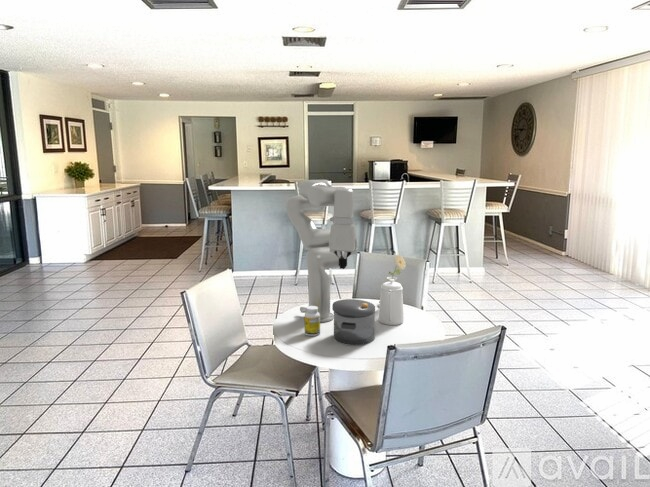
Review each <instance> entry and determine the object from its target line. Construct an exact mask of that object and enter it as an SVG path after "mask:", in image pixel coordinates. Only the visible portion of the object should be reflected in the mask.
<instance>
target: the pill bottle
mask: <svg viewBox="0 0 650 487" xmlns="http://www.w3.org/2000/svg"><path fill="white" fill-rule="evenodd" d="M305 308H306V311H307V312H306V313H304V334H305V336H307V337H317V336H319V335H320V334H321V322H320V314H319V312H318V307H317V306H309V305H308V306H306V307H305Z"/></svg>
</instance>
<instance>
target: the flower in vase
mask: <svg viewBox="0 0 650 487" xmlns="http://www.w3.org/2000/svg"><path fill="white" fill-rule="evenodd" d="M394 263H395V268H394V271H393V272H391V271H388V274H389V275H390V276H387V277H386V281H387V282H390V281H389V280H390V279H394V281H393V282H397V281H396V280H398V277H396V276H394V275H395V274H396V275H401V273H402V271H405V269H406V267H407V263H406V260H405V259H404V257H402V255H401V254H400V253H399V254H398V253H396V254H395V256H394ZM379 304H380V300H379Z"/></svg>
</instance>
